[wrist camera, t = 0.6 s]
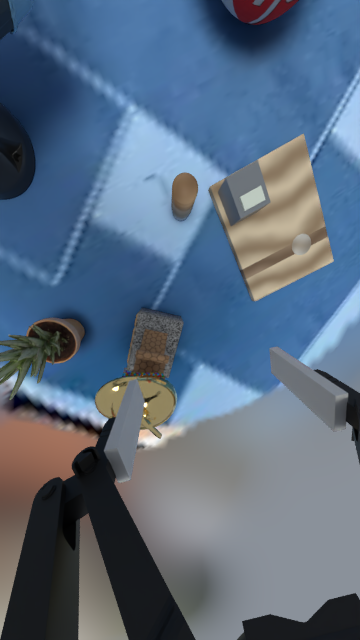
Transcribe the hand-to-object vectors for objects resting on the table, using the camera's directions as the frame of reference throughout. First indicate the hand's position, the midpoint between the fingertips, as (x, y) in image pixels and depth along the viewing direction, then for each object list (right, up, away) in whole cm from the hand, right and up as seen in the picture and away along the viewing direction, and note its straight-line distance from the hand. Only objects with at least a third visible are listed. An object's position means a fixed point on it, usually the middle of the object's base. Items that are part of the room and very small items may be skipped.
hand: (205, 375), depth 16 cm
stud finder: (+9, +30, +18) cm, 36 cm away
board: (+18, +26, +21) cm, 38 cm away
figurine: (-9, +1, +26) cm, 28 cm away
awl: (-2, +28, +19) cm, 34 cm away
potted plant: (-28, +3, +24) cm, 38 cm away
